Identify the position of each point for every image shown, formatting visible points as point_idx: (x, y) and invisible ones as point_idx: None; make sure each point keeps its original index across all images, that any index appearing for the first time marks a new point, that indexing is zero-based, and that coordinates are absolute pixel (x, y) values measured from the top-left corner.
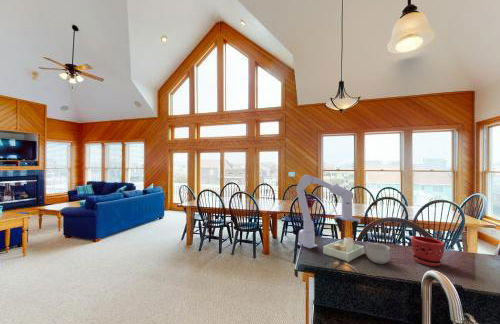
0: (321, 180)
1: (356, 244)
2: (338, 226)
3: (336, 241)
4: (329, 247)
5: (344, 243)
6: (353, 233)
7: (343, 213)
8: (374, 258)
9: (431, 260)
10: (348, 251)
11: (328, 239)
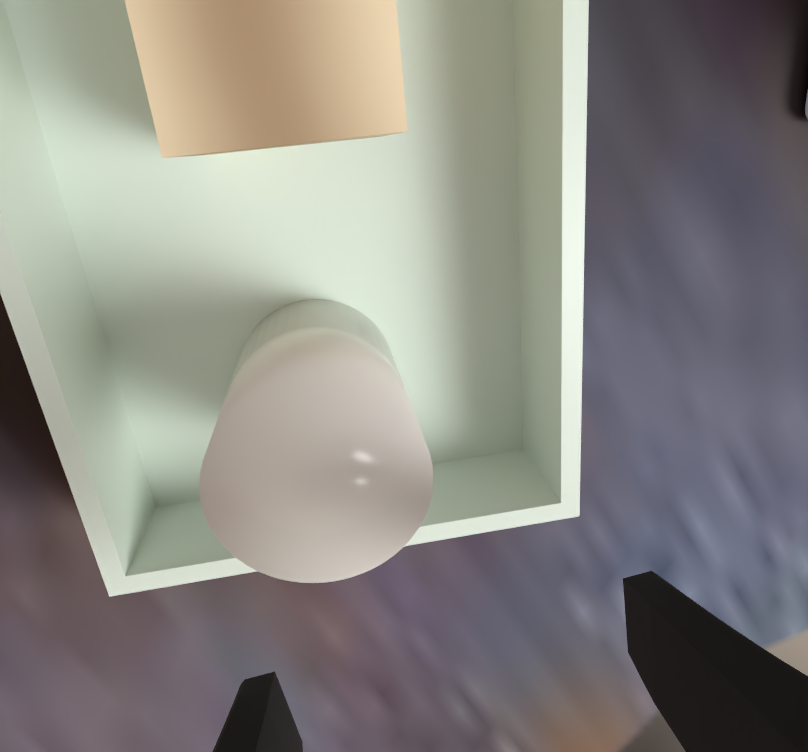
0: None
1: None
2: (783, 673)
3: (579, 381)
4: (537, 34)
5: (361, 350)
6: (237, 701)
7: None
8: None
9: None
10: (271, 314)
11: (802, 561)
